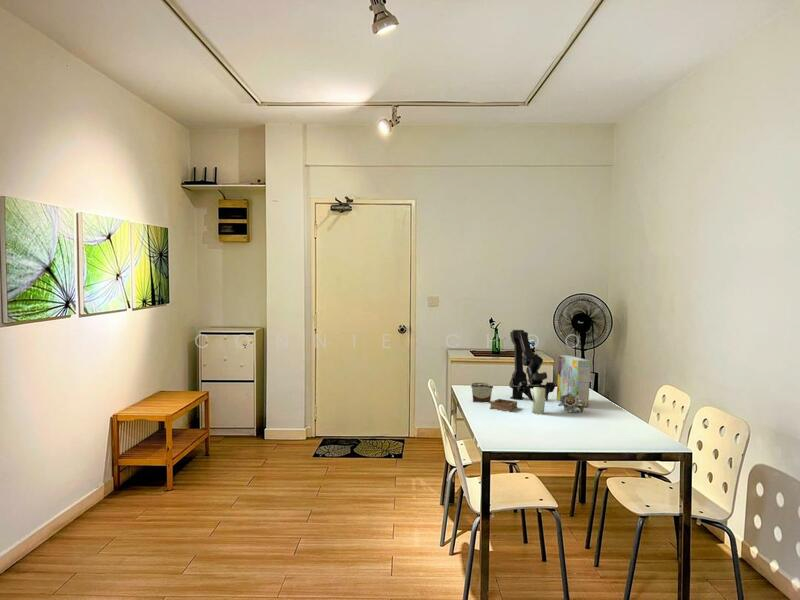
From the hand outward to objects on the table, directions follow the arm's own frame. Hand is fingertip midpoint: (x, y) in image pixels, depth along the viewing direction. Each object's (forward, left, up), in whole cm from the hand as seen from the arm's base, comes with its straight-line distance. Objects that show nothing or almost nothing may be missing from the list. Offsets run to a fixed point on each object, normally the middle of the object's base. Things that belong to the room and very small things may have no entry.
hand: (539, 400), depth 294 cm
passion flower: (-17, +11, -7) cm, 22 cm away
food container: (-8, -36, -7) cm, 37 cm away
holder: (+1, -19, -7) cm, 20 cm away
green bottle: (-1, -1, -7) cm, 7 cm away
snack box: (-38, +6, -7) cm, 39 cm away
